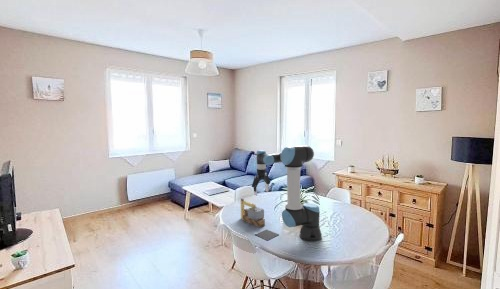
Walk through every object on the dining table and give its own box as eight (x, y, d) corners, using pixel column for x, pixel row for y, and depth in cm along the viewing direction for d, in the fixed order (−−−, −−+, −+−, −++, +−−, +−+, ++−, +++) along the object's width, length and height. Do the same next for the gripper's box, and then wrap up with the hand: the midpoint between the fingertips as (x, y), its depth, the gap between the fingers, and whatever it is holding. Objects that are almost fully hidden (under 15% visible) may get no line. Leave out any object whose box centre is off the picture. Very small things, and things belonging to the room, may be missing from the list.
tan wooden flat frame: (256, 222, 210) (256, 202, 208) (253, 223, 208) (253, 203, 206) (242, 217, 222) (242, 198, 220) (240, 218, 220) (240, 199, 218)
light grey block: (264, 218, 207) (264, 209, 206) (256, 221, 202) (256, 212, 201) (255, 214, 214) (254, 206, 213) (247, 217, 209) (247, 208, 208)
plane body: (264, 225, 205) (264, 214, 204) (260, 227, 202) (260, 216, 201) (247, 218, 220) (246, 207, 219) (242, 220, 216) (242, 209, 215)
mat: (278, 234, 189) (278, 234, 189) (267, 240, 181) (267, 240, 181) (266, 229, 198) (266, 229, 198) (255, 235, 190) (255, 234, 190)
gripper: (268, 165, 232) (268, 189, 235) (247, 170, 215) (247, 195, 218) (274, 166, 227) (274, 190, 230) (253, 171, 210) (254, 197, 213)
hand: (261, 193), depth 224 cm, fingers open, 13 cm apart
